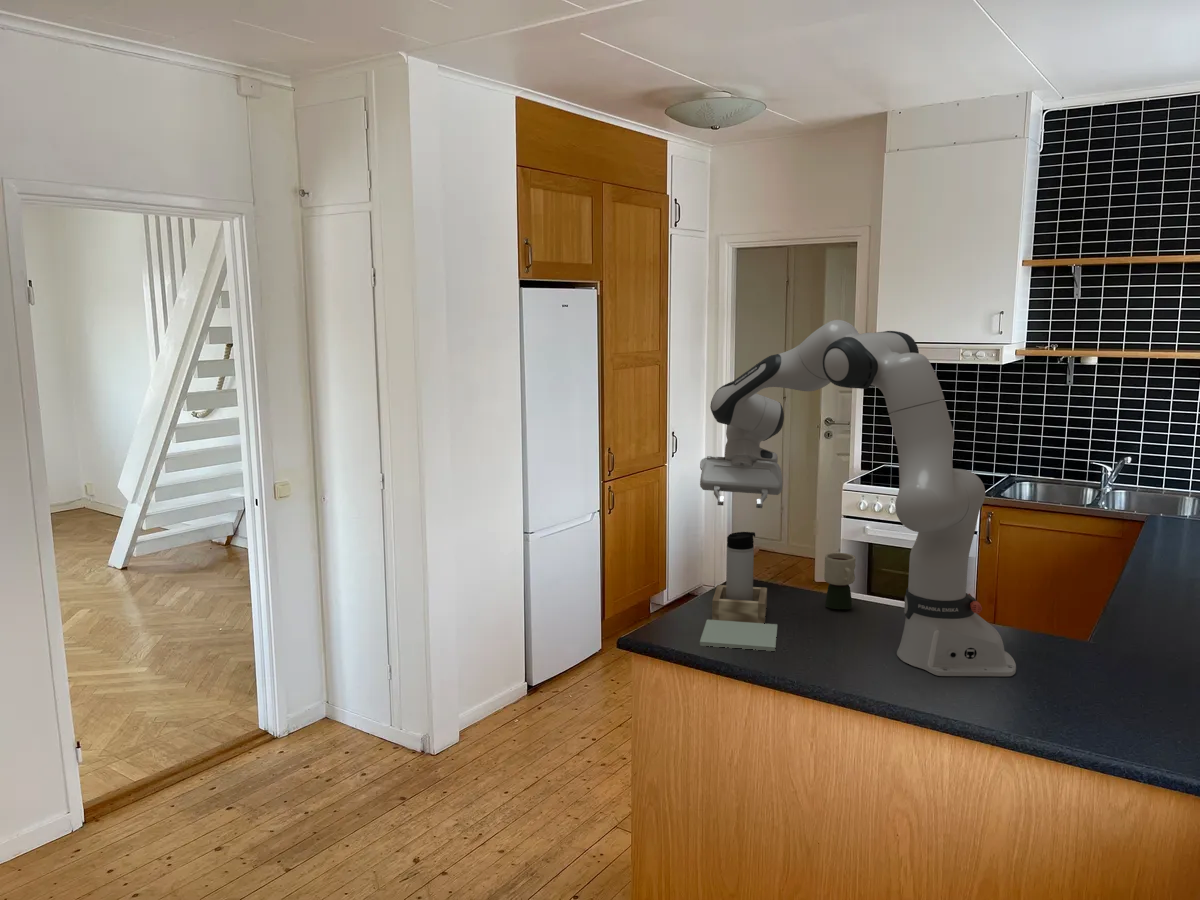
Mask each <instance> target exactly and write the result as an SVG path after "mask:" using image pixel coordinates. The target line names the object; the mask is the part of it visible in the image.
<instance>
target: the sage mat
mask: <svg viewBox="0 0 1200 900" xmlns="http://www.w3.org/2000/svg"><path fill="white" fill-rule="evenodd" d="M777 635H778V624H777V623H765V624H764V623H750V622H736V621H721V620H712V619H706V621H705V624H704V628H703V631H702V633H701V637H700V640H699V647H706V646H709V648H711V647H710V646H713V647H712V648H719V647H725V648H724V649H732V648H742V649H741V650H745V649H753V650H752V651H758V650H766V651H765V652H771V651H775V652H776V649H775V648H777V638H776V637H778V636H777ZM727 647H729V648H727ZM755 649H756V650H755Z"/></svg>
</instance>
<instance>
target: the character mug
mask: <svg viewBox="0 0 1200 900" xmlns="http://www.w3.org/2000/svg"><path fill="white" fill-rule="evenodd" d="M855 569H856V556H855V555H853V554H850V553H844V552H830V553H829V552H828V553H827V554H825V555H824V572H823V575H824V576H823V577H824V581H825V582H826V583H827V584H828V586H827V589H826V591H827V593H826V597H825V603H824V604H825V607H827V608H829V609H835V610H840V611H843V610H850V609H852V608H853V603H852V602H853V601H852V592H851V591H852V590H851V585H852V584H853V583H854V582H855V581H856V576H855Z"/></svg>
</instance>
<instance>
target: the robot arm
mask: <svg viewBox="0 0 1200 900" xmlns="http://www.w3.org/2000/svg"><path fill="white" fill-rule="evenodd" d="M829 384H833V385H835V386H837V387H841V388H847V389H861V390H867V389H869V388H870V387H871V386H872V387H873V386H874V387H876V388H878V389H879V390H880V391H881V393H882V394H883V397H884V400H885V405H886V408H887V409H886V410H887V412H888V416H889V421H890V424H891V428H892V433H893V436H894V439H895V444H896V449H897V454H898V455H897V457H898V478H899V479H898V482H899V483H898V488H899V489H898V492H897V496H896V499H895V503H894V506H895V507H894V508H895V510H894V511H895V513H896V516H897V518H898V520H899V522H900V523H901V524H902V526H904V527H906V528H907V529H908V530H910V531H913V532H916V533H917V536H916V539H915V542H914V544H913V545H912V548H911V549H910V553H909V563H908V564H909V565H908V567H909V568H908V587H907V588H906V589H905V595H904V610H903V611H904V616H905V620H904V626H903V632H902V634H901V635H902V636H901V639H900V642H899V643H900V644H899V646H898V648H897V651H896V655H897V657H898V658H899V659H900V660H901V661H902V662H904V663H906V664H909V665H910V666H912V667H915V668H919V669H922V670H925V671H927V672H929V673H930V674H933V676H934V675H935V676H939V677H1013V676H1014V675H1015V674H1016V672H1017V664H1016V662H1015V660H1014V658H1013V657H1012V655H1011V654H1010V653H1009V652H1007V651H1006V650H1005V646H1004V642H1003V638H1002V636H1001V635H1000V633H999V632H998V630H997V629H996V628H995V627H994V626H992V625H991V624H990V623H989V622H988V621H986V620H985V619H984V618H983V617H981V615H979V614H980V613H981V612H982V611H983V607H982V604H981V603H980V602H979V601H977V599H976V598H975V597H973V596H972V595H971V594H970V593H968V592H967V582H968V580H967V579H968V570H969V569H968V568H969V567H968V565H969V556H970V552H971V547H972V545H973V544H972V543H973V539H974V536H975V532H976V528H977V522H978V518H979V515H980V512H981V511H980V510H981V508H982V506H983V503H984V502H985V499H986V489H985V485H984V483H983V481H982V480H981V478H980V477H979V476H978V475H977V474H975V473H973V472H972V471H969V470H966V469H963V468H953V467H954V466H953V447H954V443H955V432H954V428H953V425H952V421H951V417H950V413H949V410H948V408H947V403H946V400H945V395H944V392H943V389H942V386H941V384H940V381H939V379H938V376H937V374H936V372H935V370H934V368H933V366H932V364H931V361H930V360H929V359H928V358H927V357H926V356H925V355H924V354H921V353H919V347H918V344H917V343H916V340H915V339H914V338H913V337H912V336H910V335H909V334H908V333H905V332H901V331H896V330H885V331H875V332H865V333H859V331H858V330H857V328H856V327H855V326H854V325H852V323H850V322H848V321H846V320H842V319H833V320H830V321H827V322H825V324H823V325H822V326H820V327H818V328H817V329H816V330H814V331H813V332H811V334H810V335H808V336H807V337H806V338H805V339H804V340H803V341H802V342H801V343H799V344H798V345H796V346H795V347H794V348H791V349H789V350H787V351H784V352H780V353H777V354H771V355H768V356H767V357H765V358H763V359H762V360H760V361H759V362H757V363H756V364H755V365H753V366H751V368H749V369H747V370H746V371H745V372H744V373H743V374H741V375H740V376H739V377H737V378H735V379H734V380H732V381H730V382H728V383H725V384H723V385H722V386H720V387H719V388H718V389H717V390H716V391H715V393H714V394H713V397H712V399H711V401H710V405H709V406H710V410H711V413H712V416H713V417H714V419H715V421H716V422H717V423H719V424H724V425H726V430H725V436H726V444H725V447H724V456H712V455H709V456H708V455H707V456H706V457H703V458H702V459H701V460H700V463H699V468H700V470H701V474H700V479H699V480H700V481H699V485H700V488H701V489H702V490H703V491H711V492H712V491H713V495H714V497H715V499H716V500H717V506H724V503H725V500H724V498H725V496H724V495H723V496H722V495H721V494H720V492H727V493H728V492H729V493H739V494H740V493H742V494H744V493H745V494H756V495H757V494H759V495H761V496H760V498H756V505H755V506H756V507H755V508H757V509H763V504H764V502H765V501H766V499H767V498H768V495H773V496H779V495H780V494H781V493H782V491H783V473H782V469H781V466H780V464H779V463H778V461H779V460H778V459H779V458H778V457H779V456H778V453H776V452H773V451H771V450H768V449H765V448H764V447H763V448H762V447H760V444H761V442H765V441H768V440H769V439H771V438H772V437H775V436H776V435H777V434H778V433H779V432H780V431H781V430H782V428H783V426H784V420H785V413H784V407H783V405H782V403H781V402H779V401H777V400H776V399H773V398H771V397H768V396H765V395H761V394H759V392H760V391H762V390H763V389H767V388H783V389H790V390H795V391H800V392H815V391H818V390H821V389H823V388H824V387H827V386H828V385H829Z"/></svg>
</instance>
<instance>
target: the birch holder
mask: <svg viewBox="0 0 1200 900" xmlns="http://www.w3.org/2000/svg"><path fill="white" fill-rule="evenodd" d="M711 601H712V603H711V605H712V606H711V607H712V609H711V613H712V614H711V615H712V616H711V620H721V621H736V622H750V623H765V624H766V617H765V616H766V615H767V609H768V587H761V586H759V587H757V586H753V601H746V600H731V599H726V584H725V585H723V584H717V585H716V588H715V592H714V595H713V598H712V600H711ZM766 608H767V609H766Z"/></svg>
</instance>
